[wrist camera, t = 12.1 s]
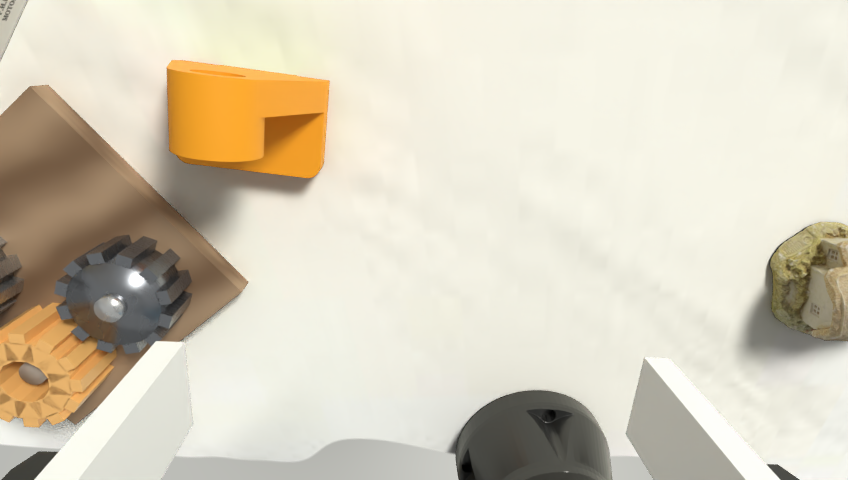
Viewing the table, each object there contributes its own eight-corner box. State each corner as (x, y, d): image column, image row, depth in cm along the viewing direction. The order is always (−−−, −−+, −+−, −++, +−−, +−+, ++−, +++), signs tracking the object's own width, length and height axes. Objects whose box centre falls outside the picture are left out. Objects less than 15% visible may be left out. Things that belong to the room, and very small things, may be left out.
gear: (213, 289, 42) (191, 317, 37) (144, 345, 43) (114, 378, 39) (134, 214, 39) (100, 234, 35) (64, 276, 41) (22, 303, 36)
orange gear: (119, 391, 45) (87, 430, 40) (20, 384, 44) (-25, 423, 39) (112, 307, 42) (75, 338, 37) (5, 298, 41) (-46, 329, 37)
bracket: (189, 155, 40) (106, 192, 29) (187, 60, 38) (96, 60, 26) (324, 172, 41) (295, 214, 30) (330, 80, 39) (302, 88, 27)
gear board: (248, 282, 44) (225, 314, 38) (87, 410, 48) (45, 457, 42) (48, 85, 38) (-14, 89, 32) (-119, 249, 41) (-200, 279, 36)
